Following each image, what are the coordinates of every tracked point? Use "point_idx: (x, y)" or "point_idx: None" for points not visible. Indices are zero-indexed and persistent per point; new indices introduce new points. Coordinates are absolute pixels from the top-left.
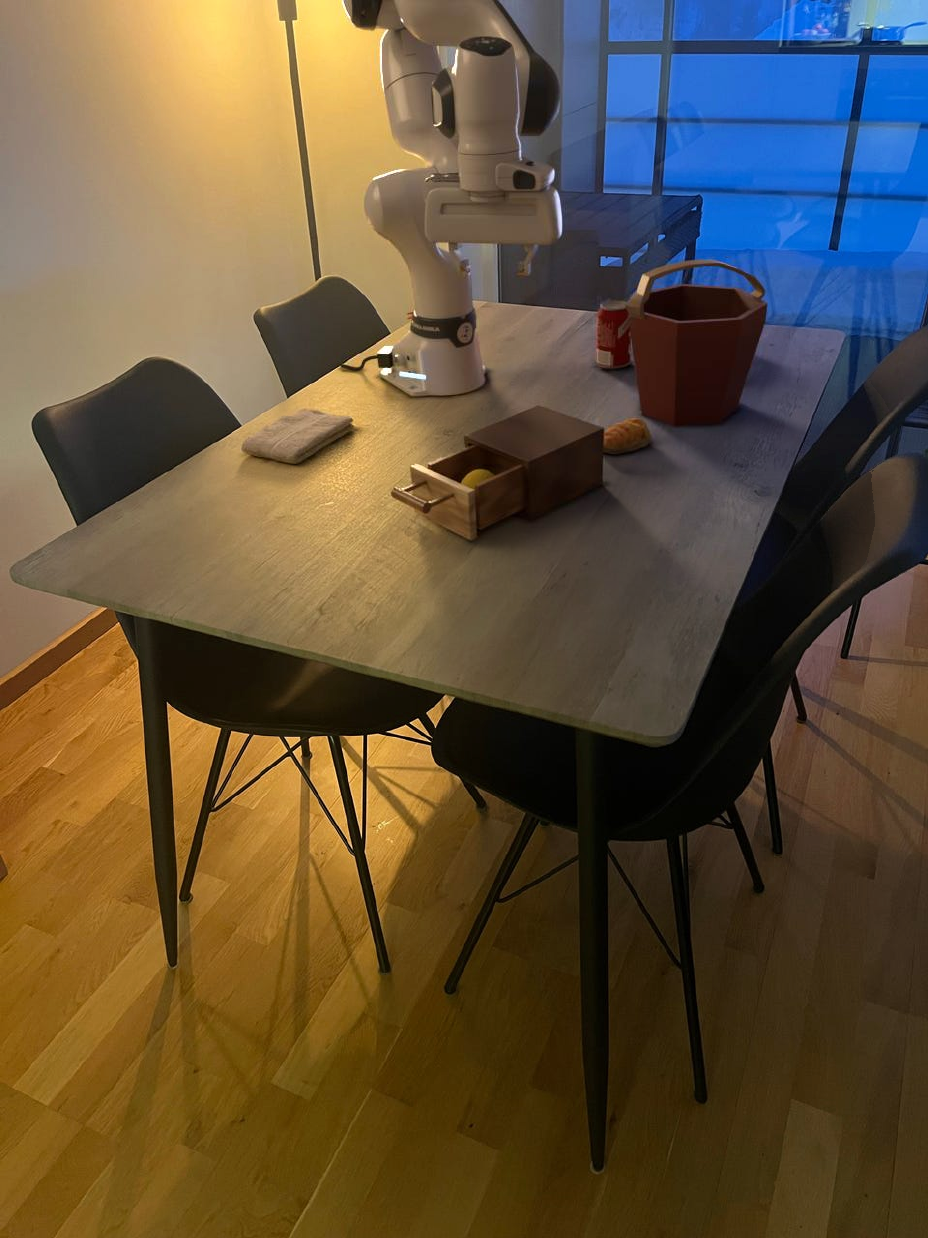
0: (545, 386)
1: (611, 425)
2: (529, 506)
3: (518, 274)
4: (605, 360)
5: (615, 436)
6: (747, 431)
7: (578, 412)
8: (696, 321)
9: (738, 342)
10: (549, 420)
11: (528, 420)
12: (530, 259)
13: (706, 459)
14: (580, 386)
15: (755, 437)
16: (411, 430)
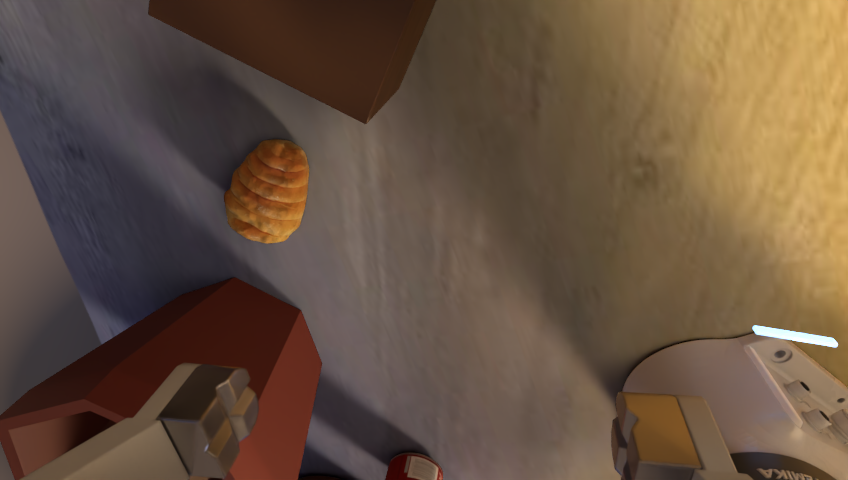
0: (500, 392)
1: (287, 212)
2: None
3: (237, 367)
4: (418, 464)
5: (261, 168)
6: (131, 274)
7: (404, 304)
8: (57, 409)
9: (38, 384)
10: (293, 24)
11: (346, 6)
12: (85, 441)
13: (128, 163)
14: (439, 396)
15: (111, 256)
16: (744, 167)
